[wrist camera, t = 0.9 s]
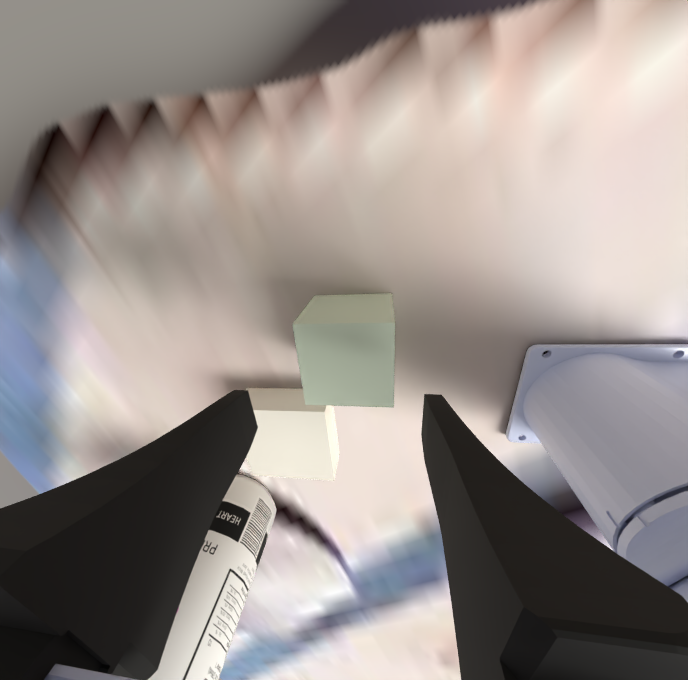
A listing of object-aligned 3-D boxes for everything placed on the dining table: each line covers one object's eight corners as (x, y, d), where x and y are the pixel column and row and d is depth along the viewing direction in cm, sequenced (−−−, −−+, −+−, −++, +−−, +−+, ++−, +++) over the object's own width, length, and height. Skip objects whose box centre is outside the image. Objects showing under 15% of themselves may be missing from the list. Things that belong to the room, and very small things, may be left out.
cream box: (332, 386, 21) (324, 411, 18) (339, 450, 24) (334, 481, 21) (248, 385, 22) (230, 409, 20) (266, 447, 25) (252, 475, 23)
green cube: (391, 292, 17) (395, 322, 13) (391, 361, 19) (393, 407, 15) (315, 294, 18) (292, 324, 13) (322, 360, 20) (305, 404, 15)
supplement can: (250, 528, 31) (150, 770, 18) (190, 489, 29) (27, 727, 16) (294, 502, 28) (212, 775, 14) (230, 457, 26) (68, 721, 13)
